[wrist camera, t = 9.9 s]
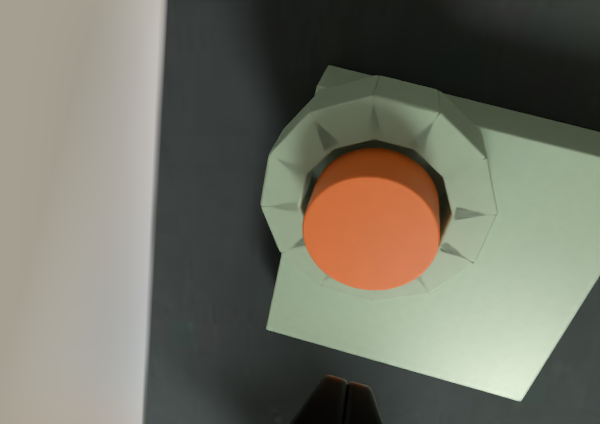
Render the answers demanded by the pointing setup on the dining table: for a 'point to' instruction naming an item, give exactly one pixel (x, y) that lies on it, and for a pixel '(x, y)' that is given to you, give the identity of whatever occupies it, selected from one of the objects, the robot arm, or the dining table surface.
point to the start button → (373, 219)
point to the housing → (445, 232)
